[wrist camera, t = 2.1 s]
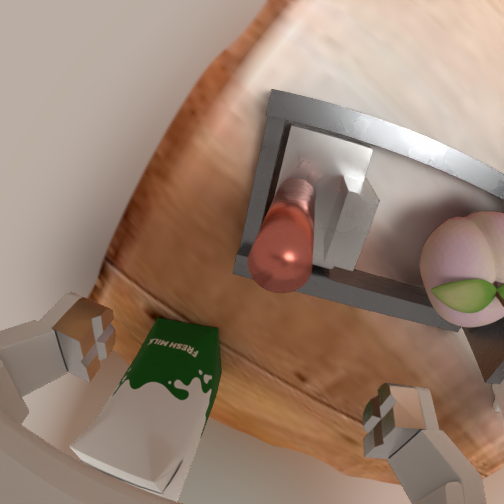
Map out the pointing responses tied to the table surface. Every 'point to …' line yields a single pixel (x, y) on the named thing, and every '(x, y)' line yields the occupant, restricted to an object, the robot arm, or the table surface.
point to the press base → (354, 282)
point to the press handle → (314, 210)
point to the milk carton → (157, 410)
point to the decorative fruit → (466, 269)
